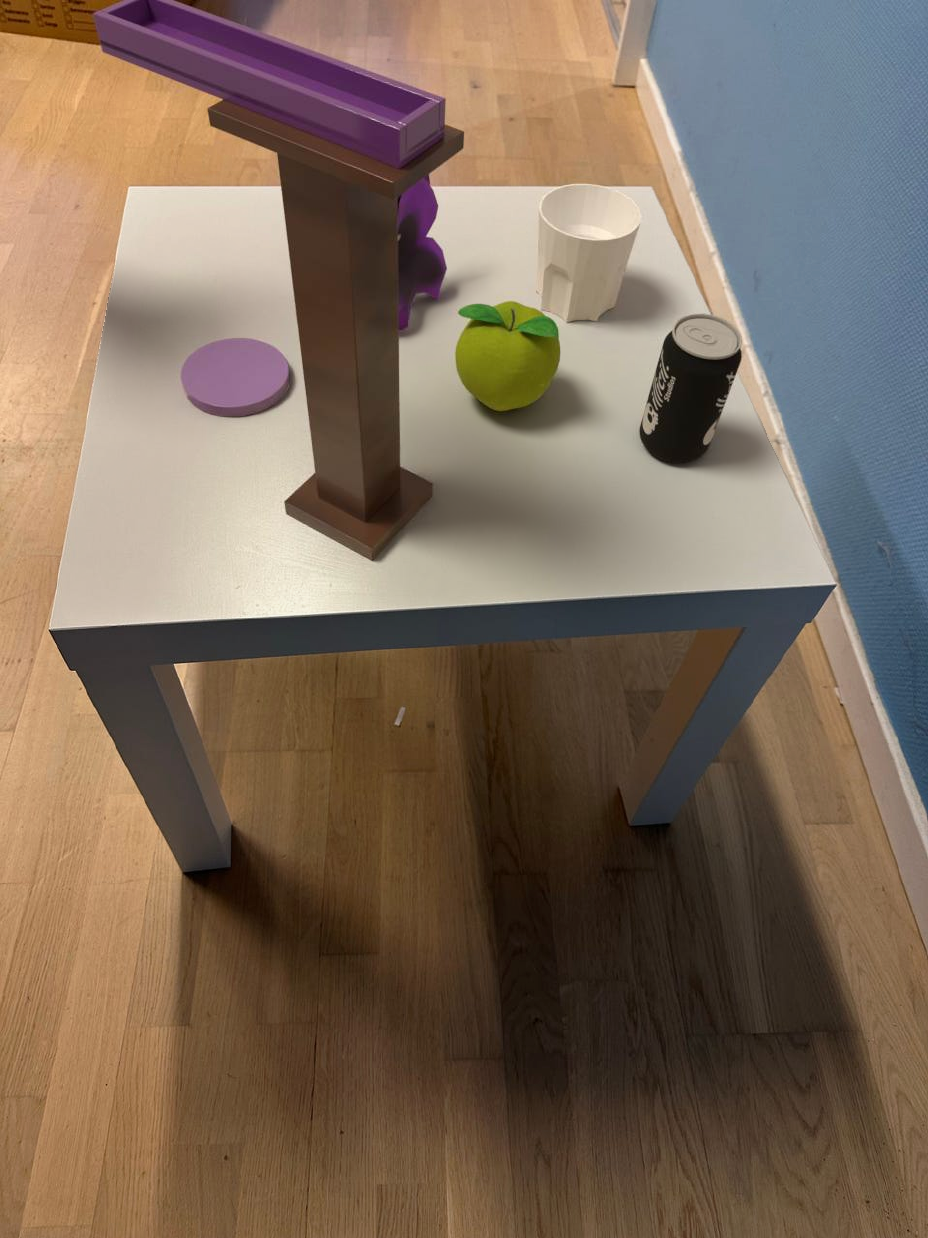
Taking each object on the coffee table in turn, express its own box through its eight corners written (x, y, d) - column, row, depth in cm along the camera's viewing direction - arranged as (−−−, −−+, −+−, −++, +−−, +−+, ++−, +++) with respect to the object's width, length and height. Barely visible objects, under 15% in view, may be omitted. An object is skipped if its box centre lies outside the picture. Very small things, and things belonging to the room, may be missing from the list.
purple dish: (399, 169, 48) (399, 129, 46) (102, 52, 54) (92, 12, 52) (444, 137, 50) (446, 97, 49) (154, 27, 56) (146, -11, 55)
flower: (308, 356, 96) (400, 348, 87) (237, 217, 87) (332, 193, 78) (386, 289, 103) (477, 276, 95) (328, 155, 94) (423, 128, 86)
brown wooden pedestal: (391, 571, 73) (382, 190, 47) (267, 503, 76) (194, 114, 50) (452, 504, 77) (474, 124, 51) (332, 443, 81) (295, 58, 55)
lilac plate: (242, 431, 81) (240, 421, 80) (160, 388, 84) (157, 378, 83) (311, 373, 86) (310, 363, 85) (231, 334, 89) (229, 324, 88)
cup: (610, 270, 99) (628, 182, 91) (630, 326, 93) (651, 238, 85) (521, 272, 98) (531, 184, 90) (536, 329, 92) (548, 241, 84)
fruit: (528, 443, 82) (541, 354, 74) (438, 409, 84) (442, 319, 76) (567, 386, 87) (583, 297, 79) (481, 355, 89) (488, 265, 81)
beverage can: (686, 478, 81) (724, 371, 71) (624, 445, 83) (653, 336, 73) (720, 439, 84) (761, 331, 74) (659, 408, 86) (691, 300, 76)
